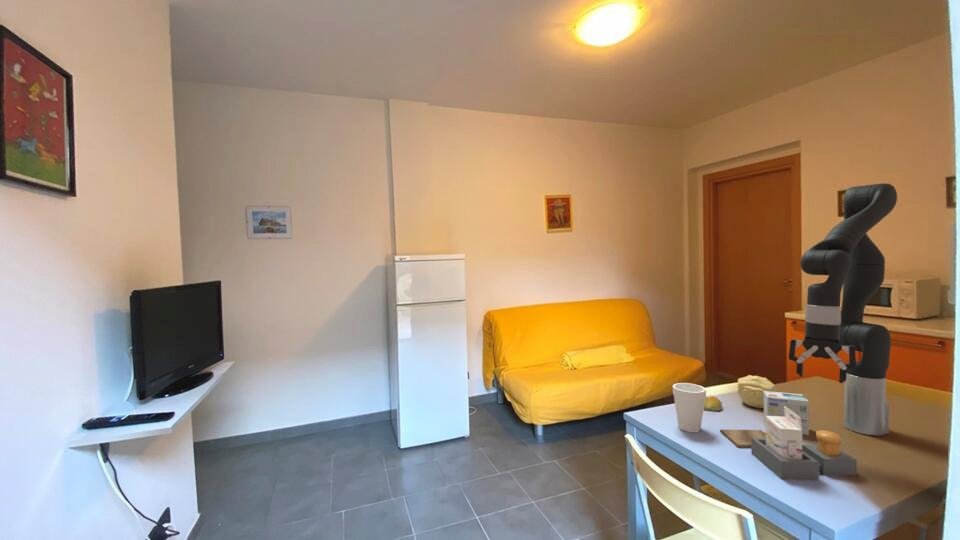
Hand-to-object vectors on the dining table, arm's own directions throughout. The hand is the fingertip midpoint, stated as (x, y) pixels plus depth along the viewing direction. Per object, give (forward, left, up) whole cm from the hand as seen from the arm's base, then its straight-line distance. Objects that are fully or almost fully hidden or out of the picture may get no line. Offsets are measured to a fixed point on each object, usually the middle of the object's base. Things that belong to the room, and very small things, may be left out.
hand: (820, 379), depth 113 cm
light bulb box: (+1, -13, -20) cm, 24 cm away
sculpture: (-2, -33, -20) cm, 39 cm away
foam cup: (+30, -13, -20) cm, 38 cm away
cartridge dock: (+11, +10, -20) cm, 25 cm away
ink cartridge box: (+16, +10, -20) cm, 27 cm away
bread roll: (+16, -31, -20) cm, 40 cm away
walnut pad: (+16, -5, -20) cm, 26 cm away
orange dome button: (+5, +10, -17) cm, 20 cm away
